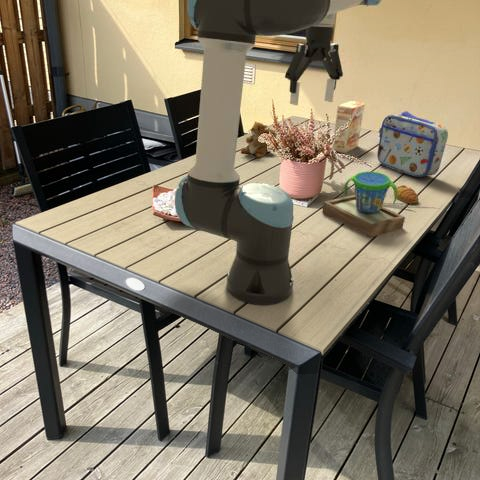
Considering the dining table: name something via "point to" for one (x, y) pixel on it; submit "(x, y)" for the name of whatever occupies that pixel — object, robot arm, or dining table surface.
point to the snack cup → (370, 190)
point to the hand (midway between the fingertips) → (311, 102)
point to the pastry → (406, 194)
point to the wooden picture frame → (362, 217)
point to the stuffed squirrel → (254, 144)
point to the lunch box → (411, 144)
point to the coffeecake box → (351, 134)
